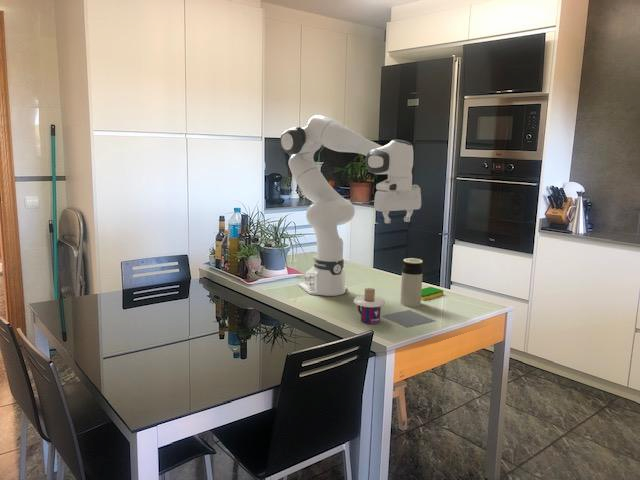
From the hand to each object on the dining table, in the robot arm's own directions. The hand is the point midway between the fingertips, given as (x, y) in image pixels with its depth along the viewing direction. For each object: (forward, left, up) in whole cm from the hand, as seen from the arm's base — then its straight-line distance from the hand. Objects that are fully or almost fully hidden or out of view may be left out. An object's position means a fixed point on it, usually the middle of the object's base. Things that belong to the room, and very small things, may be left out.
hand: (397, 222), depth 192 cm
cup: (+5, -16, -34) cm, 38 cm away
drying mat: (+11, -2, -34) cm, 36 cm away
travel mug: (-2, +11, -34) cm, 36 cm away
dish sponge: (-8, +26, -35) cm, 44 cm away
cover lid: (+5, -16, -27) cm, 32 cm away
